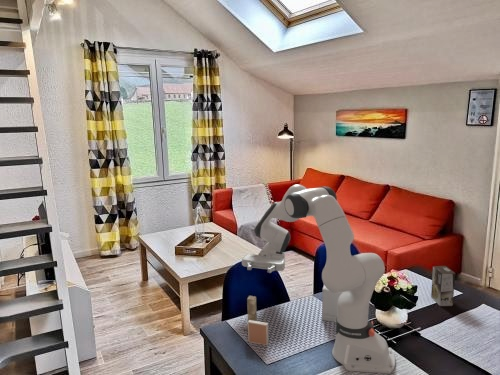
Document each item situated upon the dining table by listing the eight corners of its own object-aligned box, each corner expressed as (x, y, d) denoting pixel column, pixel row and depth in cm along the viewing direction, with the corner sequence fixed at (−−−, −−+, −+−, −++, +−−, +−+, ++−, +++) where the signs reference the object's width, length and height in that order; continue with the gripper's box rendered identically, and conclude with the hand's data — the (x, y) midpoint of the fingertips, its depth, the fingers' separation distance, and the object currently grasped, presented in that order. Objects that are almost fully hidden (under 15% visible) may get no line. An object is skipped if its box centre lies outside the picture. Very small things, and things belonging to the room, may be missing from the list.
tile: (268, 343, 151) (268, 323, 149) (267, 345, 150) (266, 325, 148) (249, 339, 154) (249, 319, 152) (248, 342, 152) (247, 321, 151)
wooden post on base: (260, 323, 165) (259, 294, 163) (255, 332, 159) (254, 302, 156) (249, 321, 167) (248, 293, 164) (244, 330, 161) (243, 300, 158)
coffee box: (453, 306, 175) (456, 273, 171) (439, 306, 175) (441, 273, 171) (443, 296, 184) (446, 265, 180) (430, 296, 184) (432, 265, 180)
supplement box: (342, 323, 163) (343, 291, 160) (321, 320, 166) (321, 289, 163) (344, 312, 172) (345, 282, 169) (324, 310, 175) (324, 280, 172)
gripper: (246, 249, 185) (236, 260, 172) (287, 253, 178) (280, 266, 166) (246, 261, 186) (237, 273, 173) (287, 266, 180) (280, 279, 167)
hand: (258, 269), depth 170 cm, fingers open, 8 cm apart
